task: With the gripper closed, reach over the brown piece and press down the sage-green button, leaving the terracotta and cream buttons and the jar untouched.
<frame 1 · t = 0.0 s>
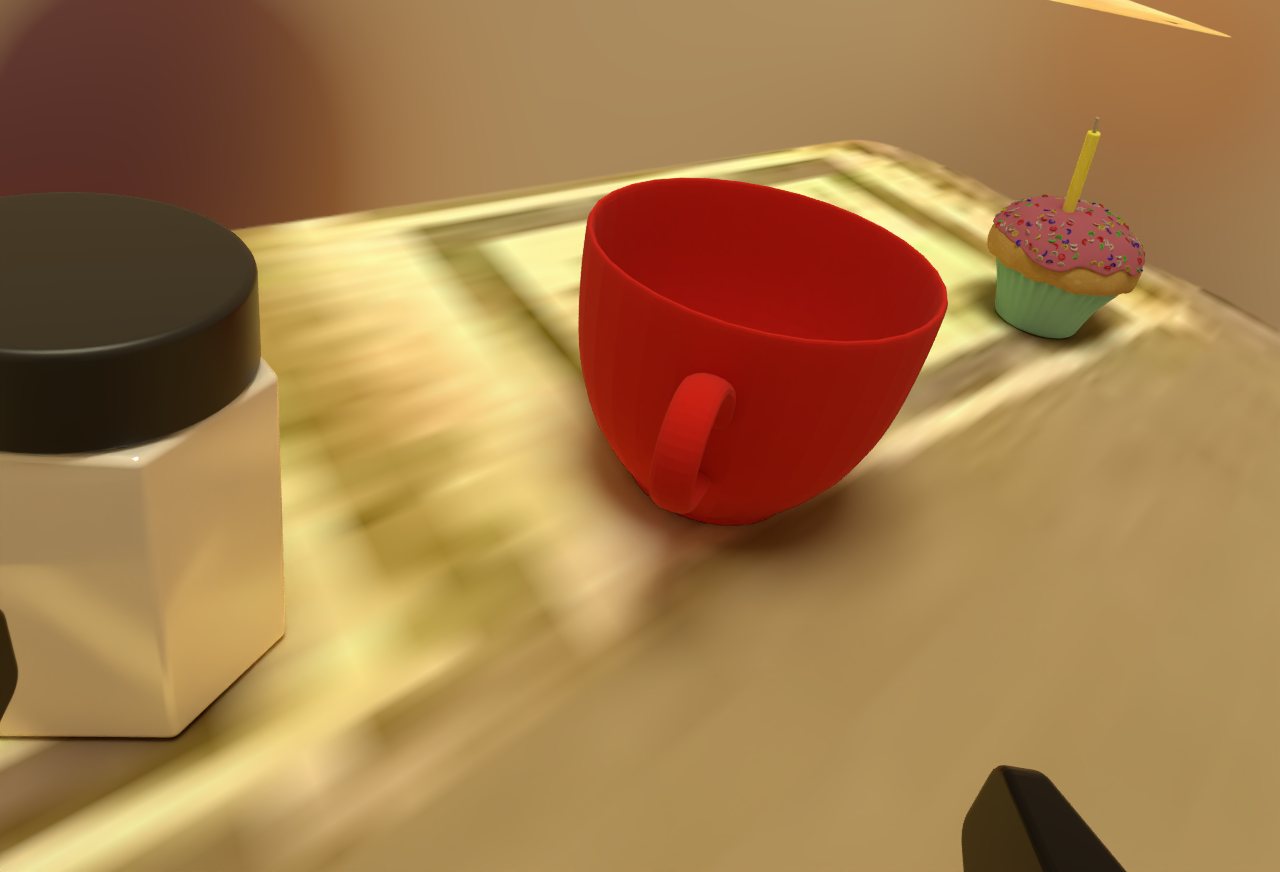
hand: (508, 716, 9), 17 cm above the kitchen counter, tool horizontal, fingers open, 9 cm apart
jar: (126, 636, 30), on the kitchen counter
ceramic cup: (695, 504, 40), on the kitchen counter
cupcake: (1032, 320, 60), on the kitchen counter
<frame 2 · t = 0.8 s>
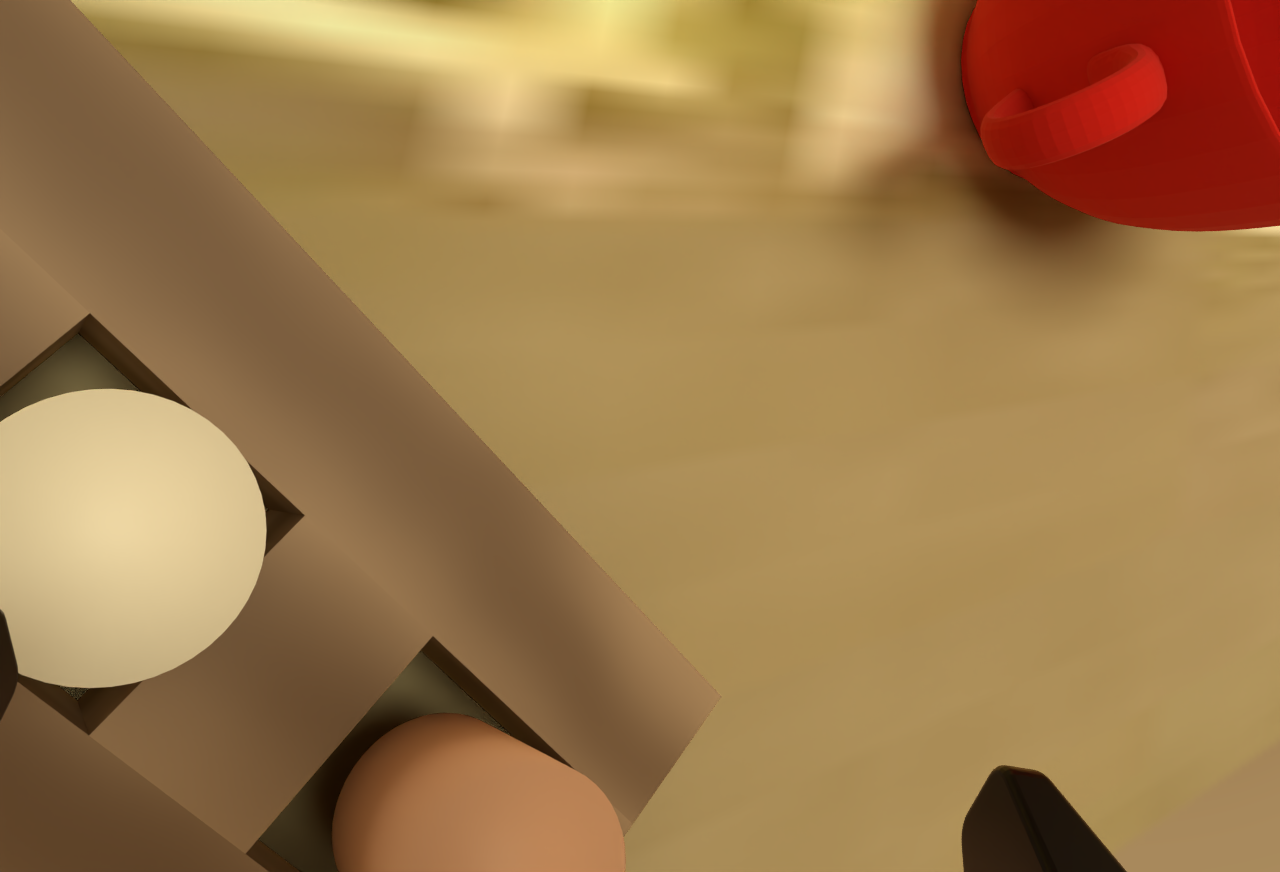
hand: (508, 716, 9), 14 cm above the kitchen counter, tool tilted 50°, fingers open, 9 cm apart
cream button: (99, 529, 15), point 5 cm above the kitchen counter, slide at 0.0 cm
ceramic cup: (987, 106, 34), on the kitchen counter
brown piece: (77, 516, 20), on the kitchen counter
terracotta button: (473, 847, 19), point 5 cm above the kitchen counter, slide at 0.0 cm
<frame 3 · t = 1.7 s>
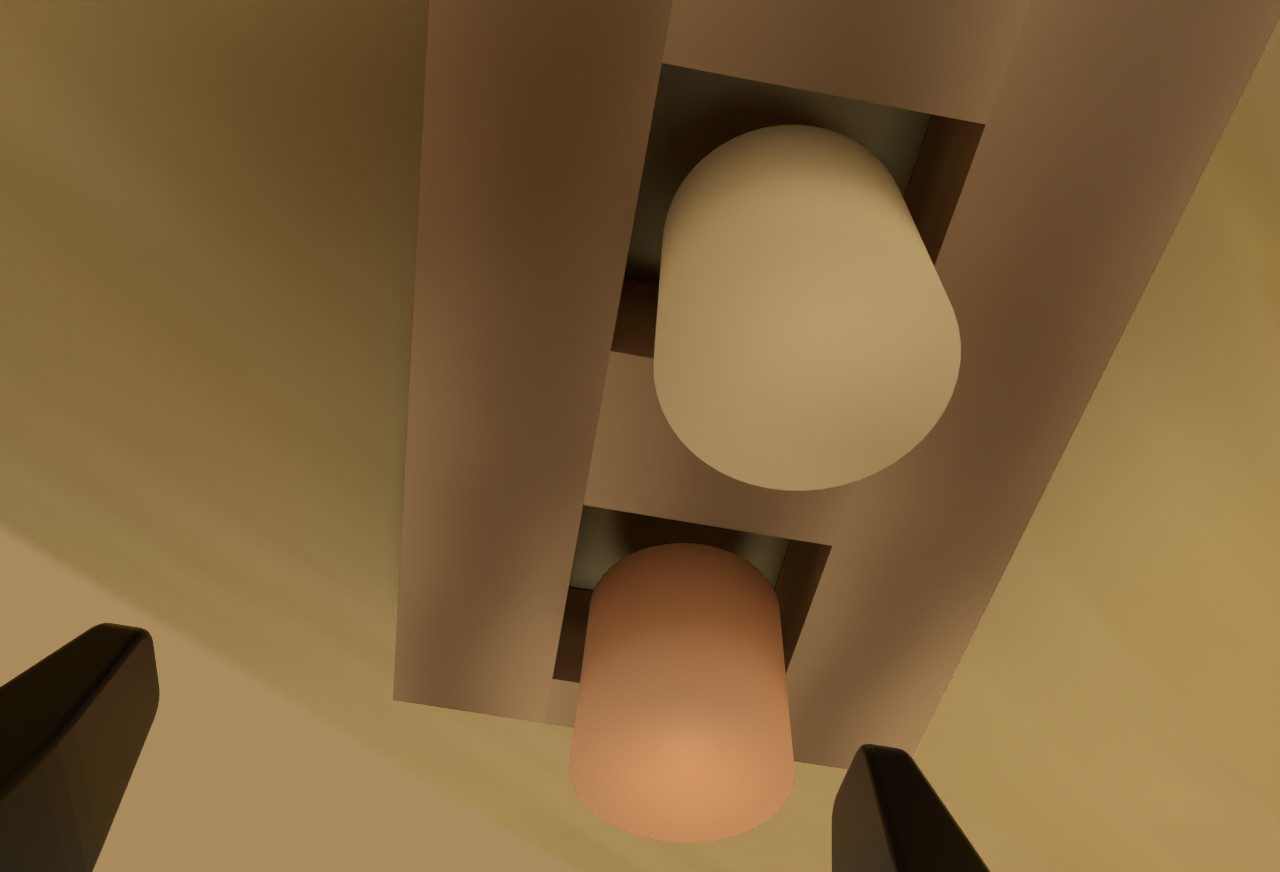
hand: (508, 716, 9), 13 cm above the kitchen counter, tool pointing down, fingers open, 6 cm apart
cream button: (793, 301, 15), point 5 cm above the kitchen counter, slide at 0.0 cm
brown piece: (773, 181, 19), on the kitchen counter
terracotta button: (682, 688, 20), point 5 cm above the kitchen counter, slide at 0.0 cm
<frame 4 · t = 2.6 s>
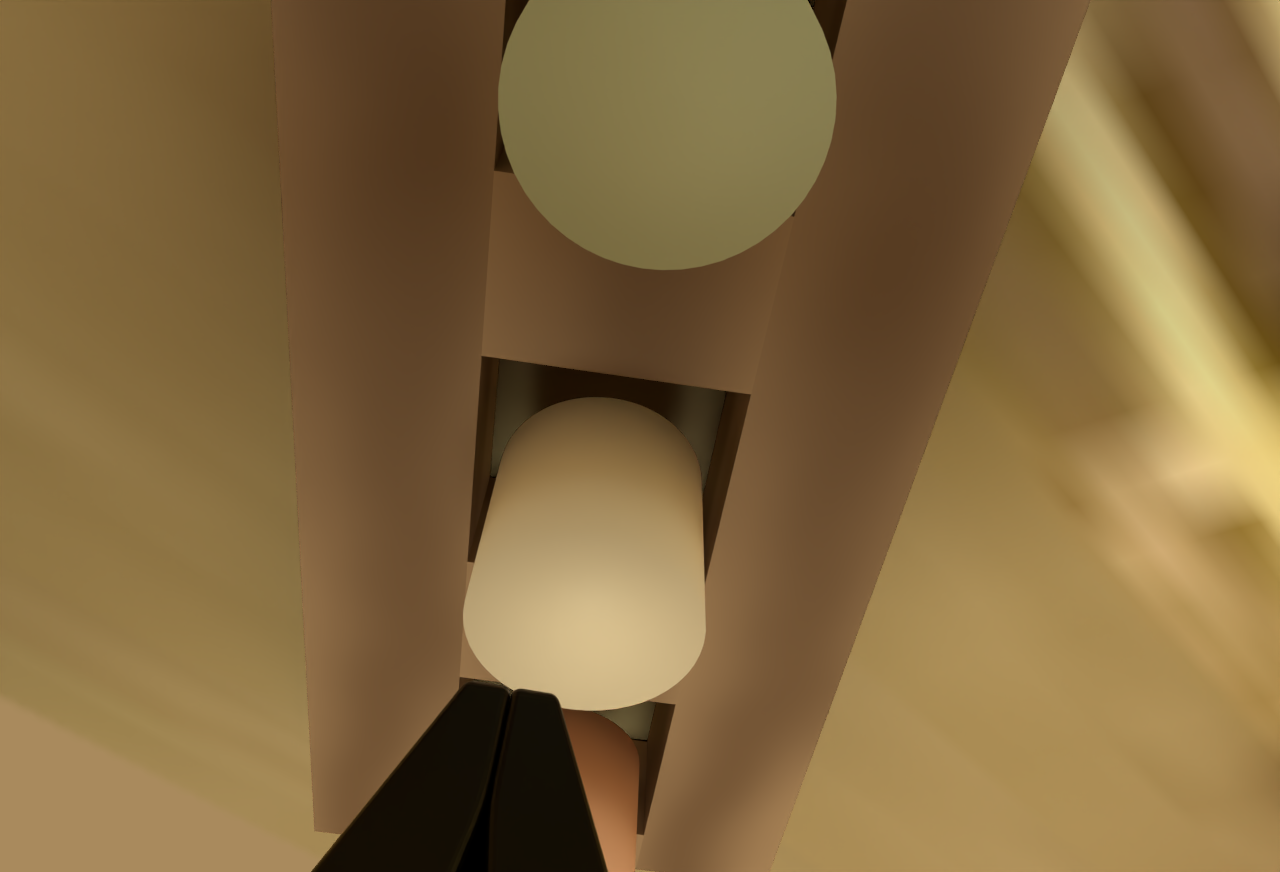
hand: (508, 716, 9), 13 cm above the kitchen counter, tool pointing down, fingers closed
cream button: (593, 549, 19), point 5 cm above the kitchen counter, slide at 0.0 cm
brown piece: (609, 402, 23), on the kitchen counter
green button: (668, 71, 14), point 5 cm above the kitchen counter, slide at 0.0 cm
terracotta button: (548, 833, 23), point 5 cm above the kitchen counter, slide at 0.0 cm
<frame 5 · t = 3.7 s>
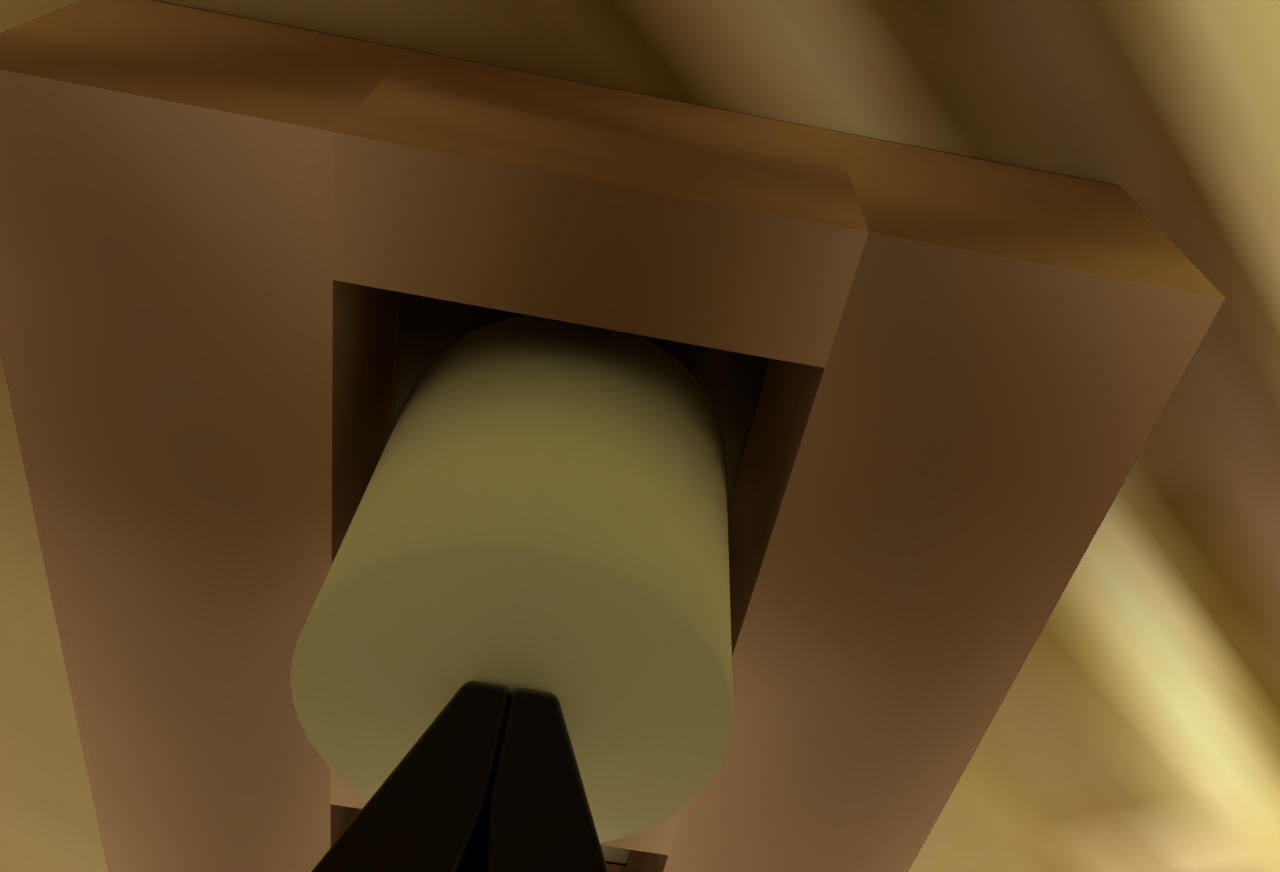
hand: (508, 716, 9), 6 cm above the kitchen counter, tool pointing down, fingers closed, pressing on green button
brown piece: (514, 768, 19), on the kitchen counter
green button: (540, 568, 11), point 4 cm above the kitchen counter, slide at 1.1 cm, touching gripper
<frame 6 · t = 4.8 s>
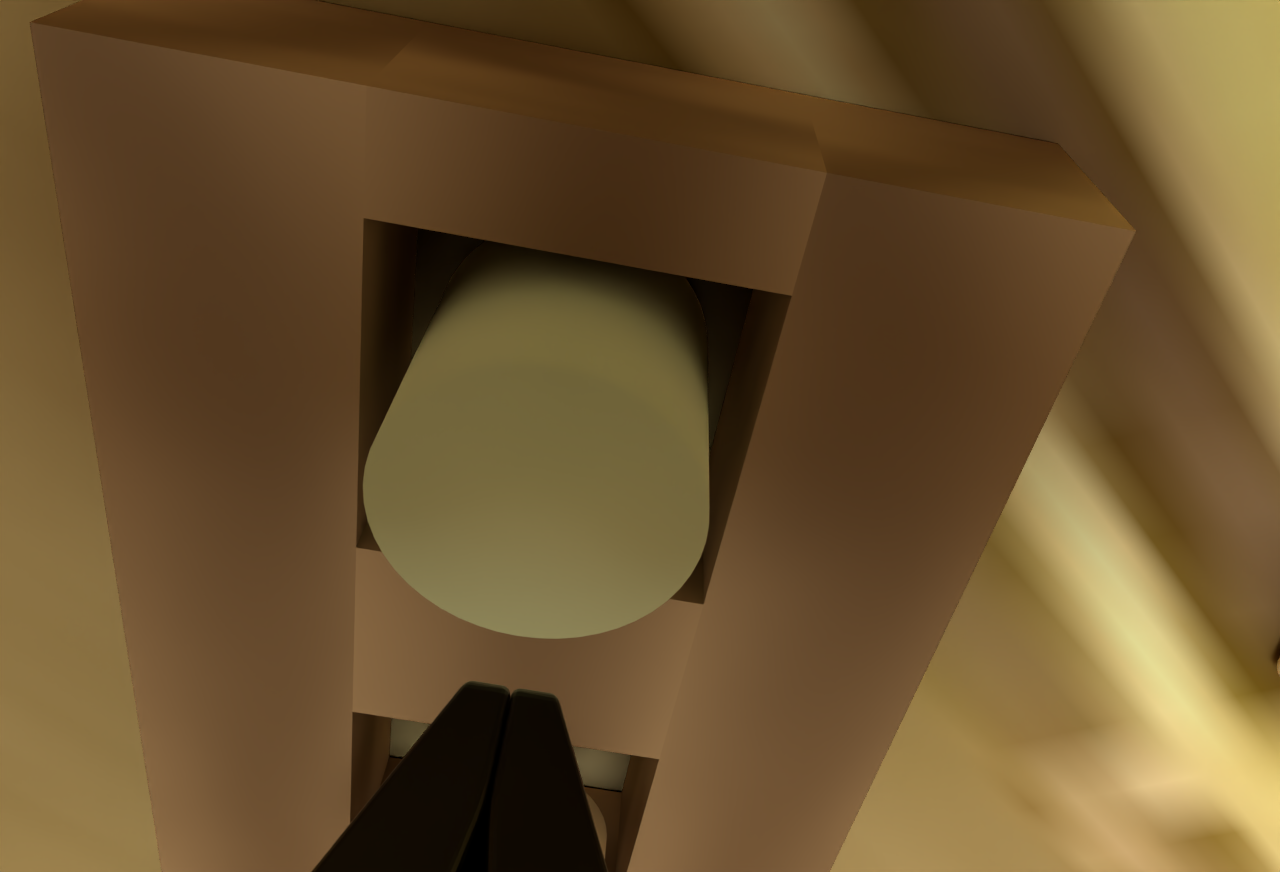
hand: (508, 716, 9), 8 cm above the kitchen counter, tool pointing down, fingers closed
brown piece: (518, 696, 20), on the kitchen counter
green button: (556, 419, 13), point 3 cm above the kitchen counter, slide at 2.3 cm
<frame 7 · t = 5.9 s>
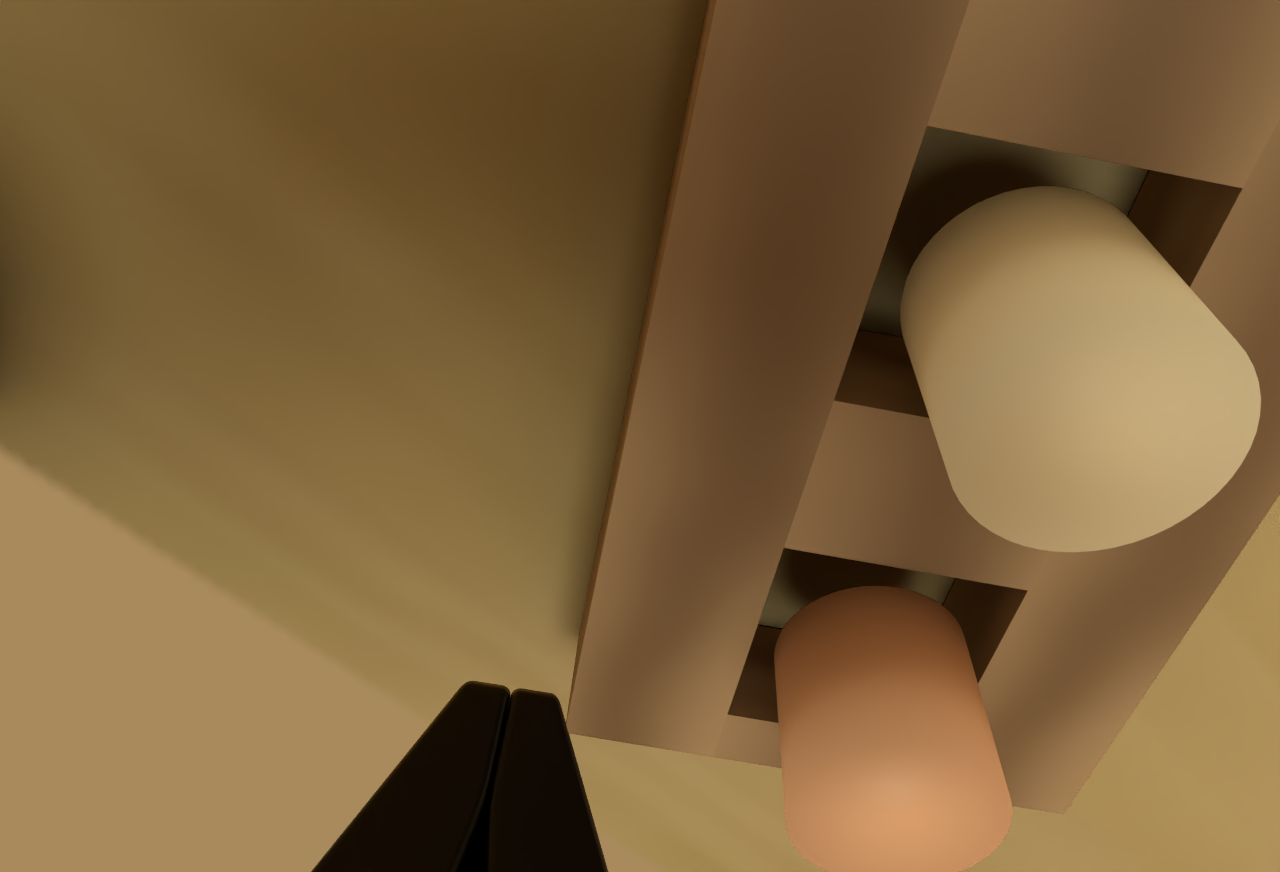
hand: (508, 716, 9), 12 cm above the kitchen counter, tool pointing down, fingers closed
cream button: (1056, 362, 15), point 5 cm above the kitchen counter, slide at 0.0 cm
brown piece: (983, 231, 19), on the kitchen counter
terracotta button: (882, 731, 20), point 5 cm above the kitchen counter, slide at 0.0 cm
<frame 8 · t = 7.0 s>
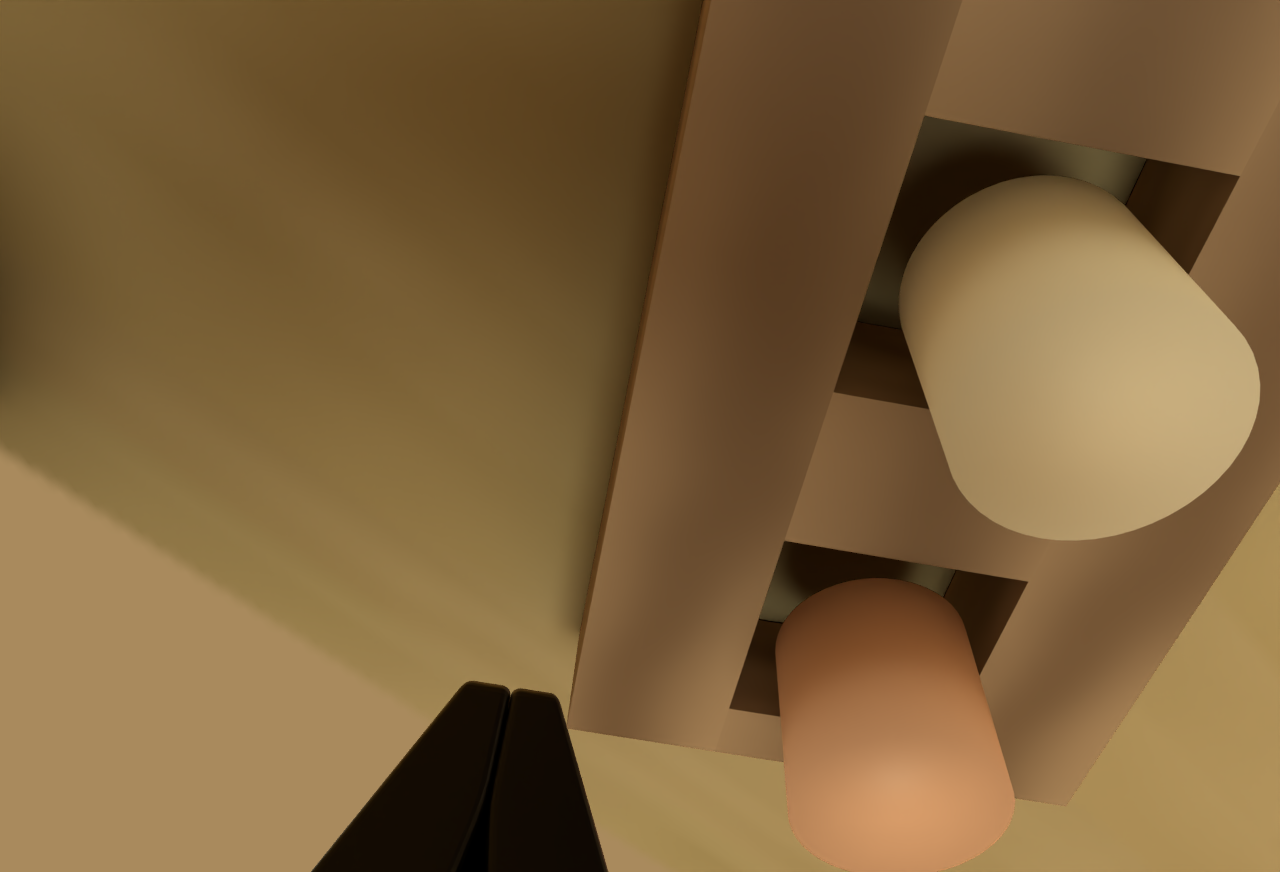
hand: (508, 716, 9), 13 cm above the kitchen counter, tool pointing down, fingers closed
cream button: (1055, 351, 15), point 5 cm above the kitchen counter, slide at 0.0 cm
brown piece: (980, 222, 19), on the kitchen counter
terracotta button: (883, 723, 20), point 5 cm above the kitchen counter, slide at 0.0 cm
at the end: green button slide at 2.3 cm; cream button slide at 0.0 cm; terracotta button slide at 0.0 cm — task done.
